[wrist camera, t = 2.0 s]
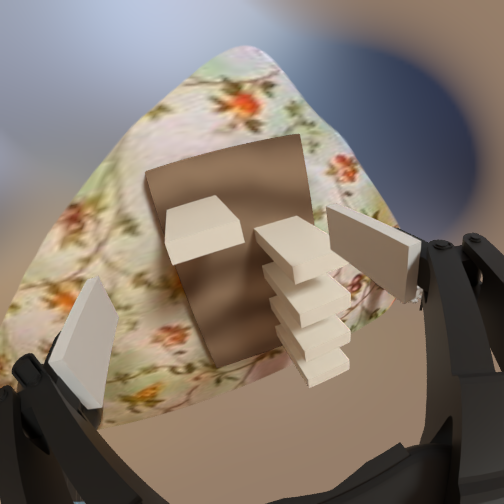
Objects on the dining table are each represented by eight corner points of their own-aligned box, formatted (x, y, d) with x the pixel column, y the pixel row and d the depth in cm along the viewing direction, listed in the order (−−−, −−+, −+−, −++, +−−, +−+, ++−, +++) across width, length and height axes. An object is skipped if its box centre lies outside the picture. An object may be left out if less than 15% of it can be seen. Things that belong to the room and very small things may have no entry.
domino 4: (307, 295, 34) (350, 341, 25) (271, 308, 34) (305, 362, 25) (306, 284, 34) (350, 330, 25) (269, 298, 33) (304, 351, 24)
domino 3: (303, 264, 32) (350, 307, 24) (264, 277, 32) (301, 328, 23) (302, 252, 32) (350, 292, 23) (261, 265, 31) (299, 313, 22)
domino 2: (298, 229, 31) (349, 264, 22) (256, 242, 30) (295, 284, 21) (296, 215, 30) (348, 246, 21) (253, 228, 29) (292, 266, 20)
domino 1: (219, 210, 27) (244, 242, 18) (171, 224, 27) (172, 265, 18) (215, 195, 27) (239, 220, 18) (166, 209, 26) (164, 243, 17)
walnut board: (319, 322, 39) (324, 327, 37) (214, 360, 36) (216, 368, 35) (293, 134, 28) (299, 133, 27) (146, 171, 25) (144, 172, 24)
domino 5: (310, 321, 36) (349, 369, 27) (276, 335, 35) (309, 388, 26) (310, 312, 36) (349, 360, 27) (275, 326, 35) (307, 379, 26)
